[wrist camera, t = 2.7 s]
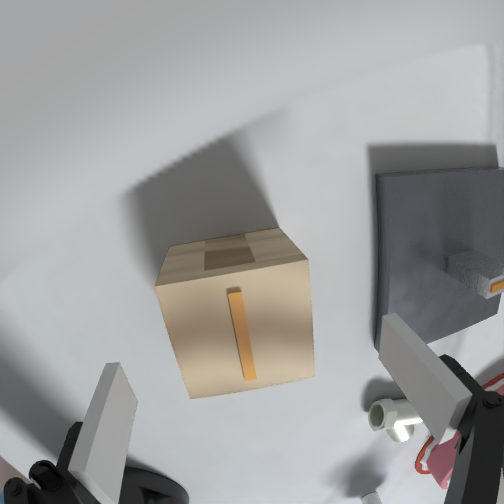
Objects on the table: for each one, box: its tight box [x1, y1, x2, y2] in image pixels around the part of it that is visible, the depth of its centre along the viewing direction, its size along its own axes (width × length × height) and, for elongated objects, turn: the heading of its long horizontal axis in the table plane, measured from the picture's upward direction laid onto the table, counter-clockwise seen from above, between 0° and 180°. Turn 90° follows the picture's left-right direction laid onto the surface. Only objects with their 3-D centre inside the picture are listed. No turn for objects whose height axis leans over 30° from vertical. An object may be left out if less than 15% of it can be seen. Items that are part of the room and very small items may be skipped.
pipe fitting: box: [368, 399, 424, 442], centre depth 30 cm, size 8×4×7 cm
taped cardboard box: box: [154, 228, 315, 399], centre depth 20 cm, size 8×8×7 cm
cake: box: [415, 373, 504, 489], centre depth 34 cm, size 25×25×11 cm
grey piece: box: [375, 167, 504, 353], centre depth 22 cm, size 16×16×8 cm
